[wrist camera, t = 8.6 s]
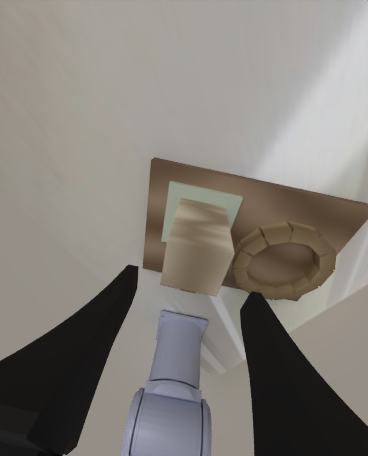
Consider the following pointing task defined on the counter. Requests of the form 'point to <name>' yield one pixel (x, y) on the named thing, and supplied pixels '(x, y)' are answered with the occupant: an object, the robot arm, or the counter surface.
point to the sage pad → (200, 195)
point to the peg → (198, 248)
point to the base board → (254, 216)
